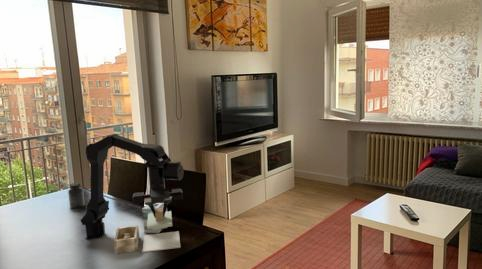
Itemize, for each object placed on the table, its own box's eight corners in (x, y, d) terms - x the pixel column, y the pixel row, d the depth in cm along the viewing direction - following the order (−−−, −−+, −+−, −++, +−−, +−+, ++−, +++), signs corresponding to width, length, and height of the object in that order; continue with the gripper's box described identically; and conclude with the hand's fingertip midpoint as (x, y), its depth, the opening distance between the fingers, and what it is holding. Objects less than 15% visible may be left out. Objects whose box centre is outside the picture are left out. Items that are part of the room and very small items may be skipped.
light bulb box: (158, 233, 152) (156, 209, 150) (143, 233, 153) (141, 208, 151) (168, 223, 162) (167, 200, 160) (154, 222, 164) (152, 199, 162)
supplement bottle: (77, 203, 192) (74, 181, 190) (87, 204, 189) (85, 182, 187) (67, 208, 185) (64, 185, 183) (77, 209, 183) (75, 186, 181)
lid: (147, 232, 136) (146, 217, 135) (148, 218, 149) (147, 205, 148) (172, 229, 138) (171, 214, 137) (171, 216, 151) (170, 202, 150)
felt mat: (142, 252, 137) (142, 251, 136) (144, 236, 150) (144, 235, 150) (180, 247, 139) (180, 246, 139) (178, 232, 153) (178, 231, 153)
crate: (115, 253, 136) (113, 241, 136) (118, 239, 148) (117, 227, 147) (137, 250, 138) (136, 238, 137) (139, 236, 150) (138, 225, 149)
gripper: (129, 187, 131) (133, 228, 133) (182, 182, 134) (185, 222, 137) (132, 178, 141) (135, 216, 144) (180, 174, 145) (183, 211, 148)
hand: (159, 217), depth 143 cm, fingers closed on lid, 3 cm apart
